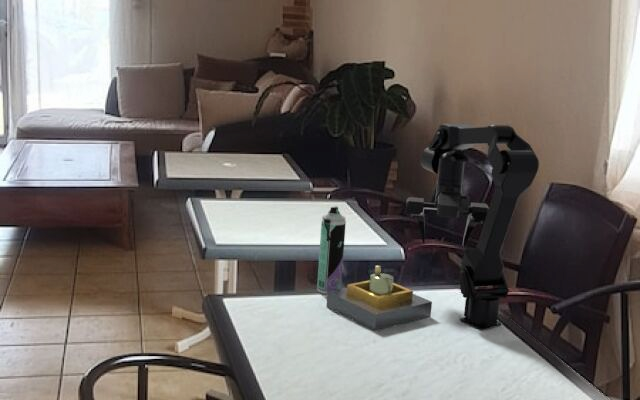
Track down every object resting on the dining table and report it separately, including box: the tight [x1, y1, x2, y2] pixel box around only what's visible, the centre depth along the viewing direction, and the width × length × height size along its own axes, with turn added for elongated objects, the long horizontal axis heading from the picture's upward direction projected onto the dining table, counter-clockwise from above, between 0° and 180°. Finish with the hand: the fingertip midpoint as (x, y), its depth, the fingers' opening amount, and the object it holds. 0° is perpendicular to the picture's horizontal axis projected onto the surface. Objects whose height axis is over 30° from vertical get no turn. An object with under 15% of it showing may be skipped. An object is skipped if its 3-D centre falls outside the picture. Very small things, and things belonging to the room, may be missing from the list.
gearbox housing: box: [326, 279, 433, 331], centre depth 176 cm, size 18×16×6 cm
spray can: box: [316, 206, 346, 295], centre depth 185 cm, size 6×6×20 cm
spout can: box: [369, 265, 394, 296], centre depth 175 cm, size 5×5×10 cm
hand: (443, 244), depth 187 cm, fingers open, 9 cm apart
